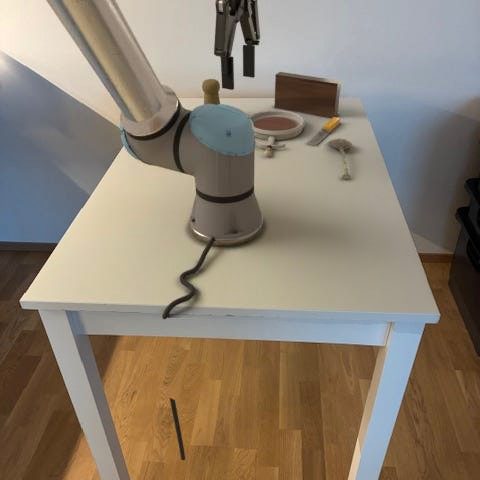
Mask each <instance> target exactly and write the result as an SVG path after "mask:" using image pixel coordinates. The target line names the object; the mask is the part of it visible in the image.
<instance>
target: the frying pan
mask: <svg viewBox="0 0 480 480" xmlns="http://www.w3.org/2000/svg"><path fill="white" fill-rule="evenodd" d="M249 117H250V118H251V121H252V122H253V125H254V136H255V138H259V139H262V140H267V142H266V144H263V143H258V142H256V143H255V147H258V148H260V149H266V150H265V151H264V152H263V154H264V156H265V157H267V158H269V157H271V155H272V153H271V151H272V150H271V149H275V150H276V149H283V148H286V143H283V144H274V143H275V141H283V140H290V139H293V138H295V137H298V136H299V135H300V134H301V133H302V132H303V129H304V127H305V125H306V122H305V119H304V118H303V116H302V115H300V114H298V113H296V112H294V111H290V110H283V109H269V110H262V111H258V112H255V113H253V114H251V115H249Z"/></svg>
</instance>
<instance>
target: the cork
mask: <svg viewBox="0 0 480 480" xmlns="http://www.w3.org/2000/svg"><path fill="white" fill-rule="evenodd" d="M220 89H221V84H220V82H219V80H218V79H215V78H208V79H205V80H204V81H202V84H201V90H202V91H203V94H204V95H203V105H205V104H214V105H218V104H221V101H220V93H219V92H220Z"/></svg>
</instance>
